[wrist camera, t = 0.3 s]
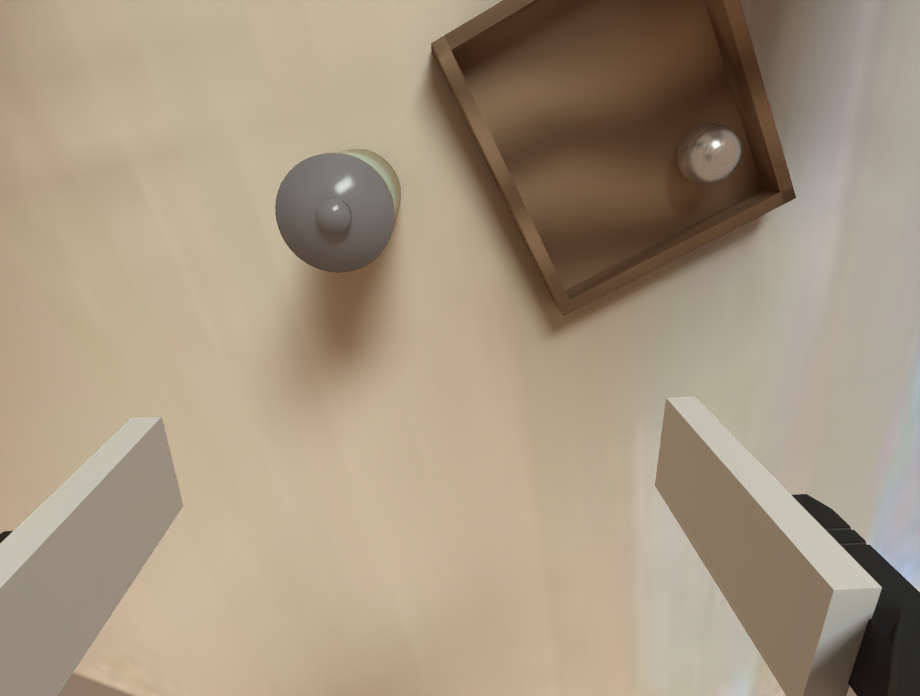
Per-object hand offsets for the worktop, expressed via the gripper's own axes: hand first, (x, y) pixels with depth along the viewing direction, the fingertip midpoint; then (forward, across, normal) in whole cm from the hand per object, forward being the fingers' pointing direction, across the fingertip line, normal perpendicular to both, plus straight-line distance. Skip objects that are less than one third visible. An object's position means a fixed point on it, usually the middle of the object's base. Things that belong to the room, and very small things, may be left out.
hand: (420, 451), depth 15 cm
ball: (+24, +17, +6) cm, 30 cm away
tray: (+24, +12, +8) cm, 28 cm away
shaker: (+24, -4, +4) cm, 25 cm away
